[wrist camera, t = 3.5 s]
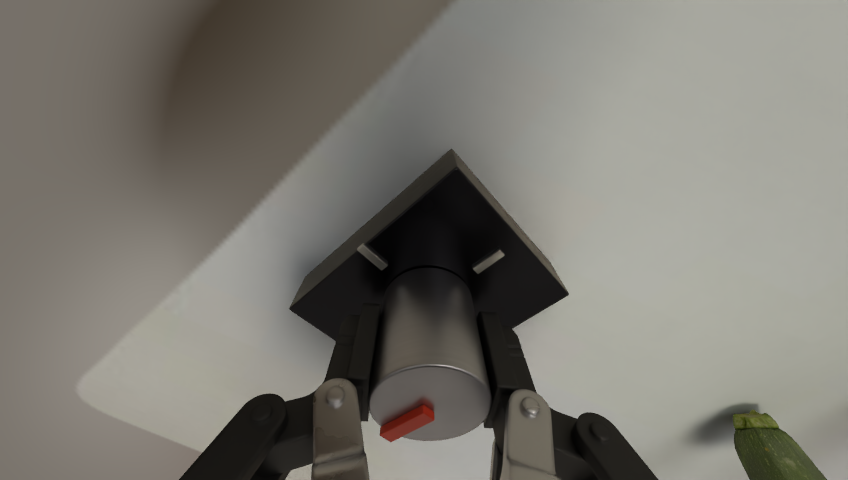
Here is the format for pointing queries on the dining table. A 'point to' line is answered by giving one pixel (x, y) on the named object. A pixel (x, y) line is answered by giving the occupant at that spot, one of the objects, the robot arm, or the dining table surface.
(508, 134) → the dining table surface
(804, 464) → the vegetable
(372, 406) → the hob knob
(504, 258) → the panel
